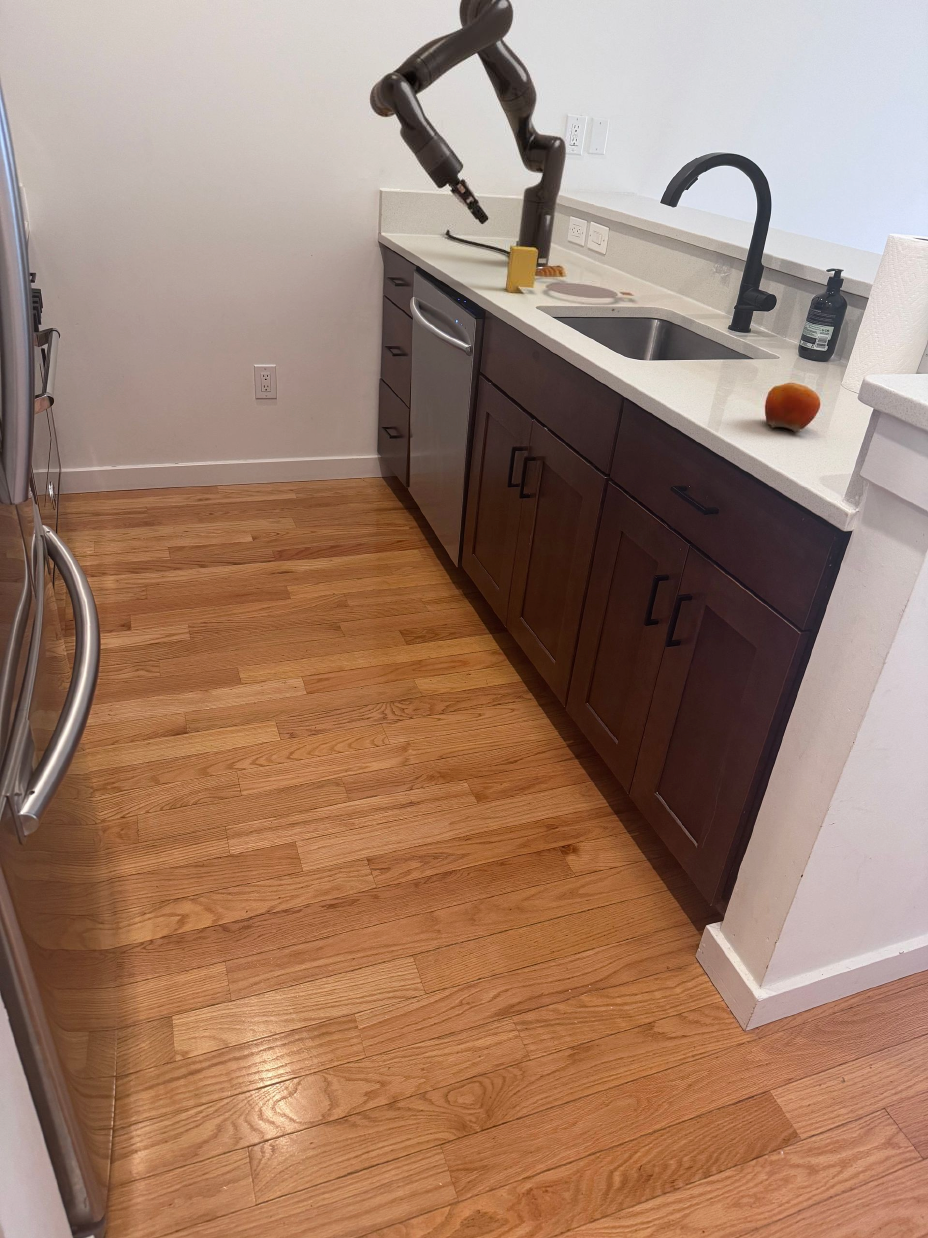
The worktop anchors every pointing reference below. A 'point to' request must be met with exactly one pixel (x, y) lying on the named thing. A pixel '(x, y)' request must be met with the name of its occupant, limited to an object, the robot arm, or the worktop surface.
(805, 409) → the fruit
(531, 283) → the sponge
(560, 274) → the pastry
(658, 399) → the worktop surface
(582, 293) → the plate
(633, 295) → the orange slab
